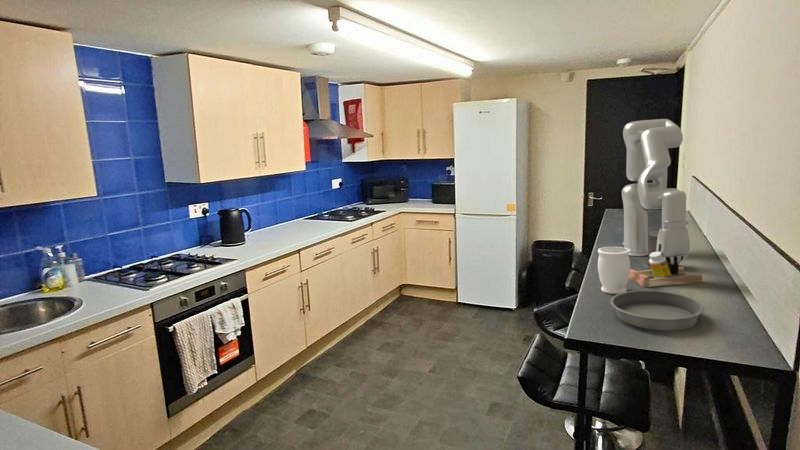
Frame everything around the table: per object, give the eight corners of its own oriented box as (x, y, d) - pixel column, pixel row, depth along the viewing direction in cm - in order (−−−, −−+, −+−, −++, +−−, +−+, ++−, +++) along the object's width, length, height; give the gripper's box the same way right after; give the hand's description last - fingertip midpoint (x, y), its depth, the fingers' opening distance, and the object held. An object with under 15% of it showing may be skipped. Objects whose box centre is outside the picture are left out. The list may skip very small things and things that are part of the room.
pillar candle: (642, 265, 190) (642, 230, 187) (661, 261, 193) (662, 227, 190) (661, 271, 181) (662, 234, 178) (681, 267, 183) (682, 231, 181)
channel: (627, 278, 176) (627, 269, 175) (681, 273, 177) (681, 264, 176) (644, 287, 165) (645, 277, 164) (702, 281, 165) (702, 272, 165)
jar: (605, 284, 171) (604, 245, 169) (634, 288, 164) (634, 248, 161) (593, 292, 164) (592, 251, 162) (623, 297, 157) (623, 254, 154)
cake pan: (618, 298, 157) (618, 286, 156) (705, 309, 142) (705, 295, 142) (602, 325, 137) (602, 310, 136) (701, 340, 123) (701, 324, 122)
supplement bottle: (667, 282, 166) (659, 257, 164) (652, 281, 171) (644, 257, 169) (674, 274, 169) (666, 250, 167) (658, 273, 174) (651, 250, 171)
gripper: (686, 221, 171) (685, 269, 174) (647, 225, 170) (647, 273, 173) (700, 224, 163) (699, 274, 166) (660, 228, 163) (659, 278, 165)
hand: (673, 273), depth 170 cm, fingers closed
